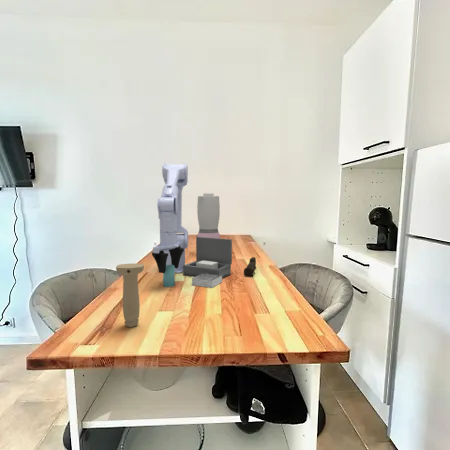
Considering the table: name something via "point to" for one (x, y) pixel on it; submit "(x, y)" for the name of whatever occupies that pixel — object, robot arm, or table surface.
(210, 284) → the white square frame
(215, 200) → the blender
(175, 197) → the robot arm
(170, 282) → the teal cylinder
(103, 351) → the table surface
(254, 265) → the hand tool
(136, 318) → the handle
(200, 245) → the case
